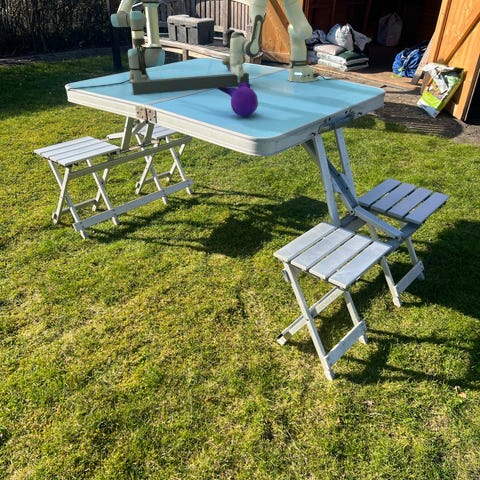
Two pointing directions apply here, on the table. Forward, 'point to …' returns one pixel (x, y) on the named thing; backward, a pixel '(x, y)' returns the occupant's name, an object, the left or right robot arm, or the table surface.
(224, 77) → the bar
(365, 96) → the table surface
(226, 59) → the teapot
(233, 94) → the toy
